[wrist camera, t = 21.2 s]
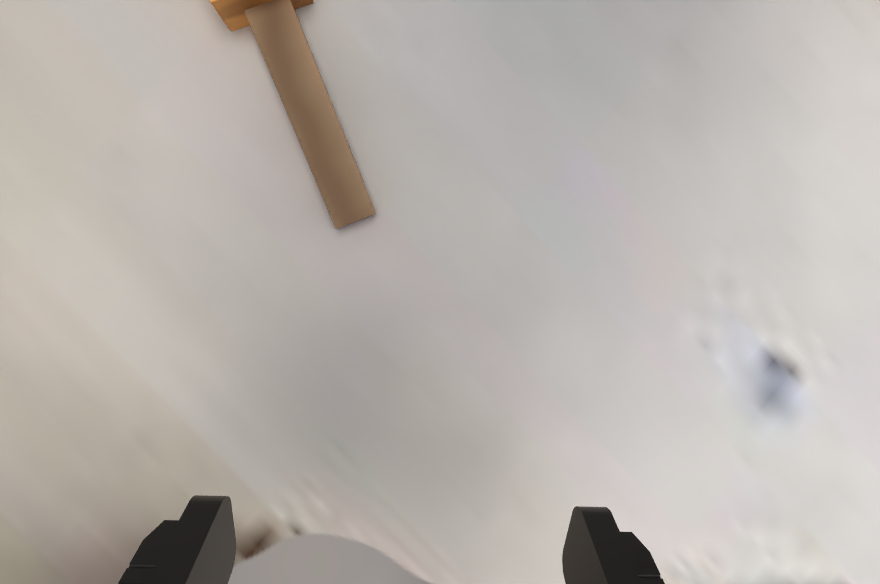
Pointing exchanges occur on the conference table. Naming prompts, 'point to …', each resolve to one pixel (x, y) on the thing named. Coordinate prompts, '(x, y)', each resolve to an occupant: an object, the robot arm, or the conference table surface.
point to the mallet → (304, 101)
